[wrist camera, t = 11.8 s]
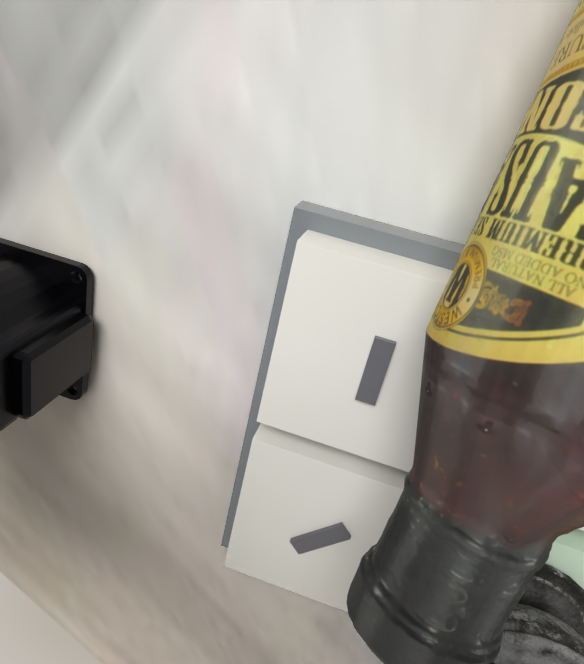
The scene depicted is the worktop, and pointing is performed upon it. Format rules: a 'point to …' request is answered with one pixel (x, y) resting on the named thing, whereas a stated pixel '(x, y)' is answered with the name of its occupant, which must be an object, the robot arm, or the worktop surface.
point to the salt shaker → (546, 622)
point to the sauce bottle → (494, 405)
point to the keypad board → (334, 400)
